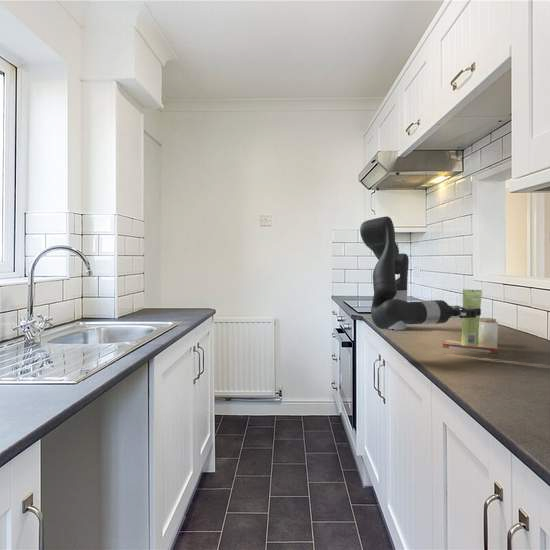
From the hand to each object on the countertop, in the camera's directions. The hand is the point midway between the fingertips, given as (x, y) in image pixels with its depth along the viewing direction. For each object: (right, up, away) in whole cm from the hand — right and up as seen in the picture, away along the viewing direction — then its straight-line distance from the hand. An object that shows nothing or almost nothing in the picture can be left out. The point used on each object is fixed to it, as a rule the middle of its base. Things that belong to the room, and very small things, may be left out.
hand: (469, 310), depth 128 cm
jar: (+9, -12, +5) cm, 16 cm away
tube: (+1, -13, +1) cm, 13 cm away
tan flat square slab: (+2, -14, +4) cm, 14 cm away
